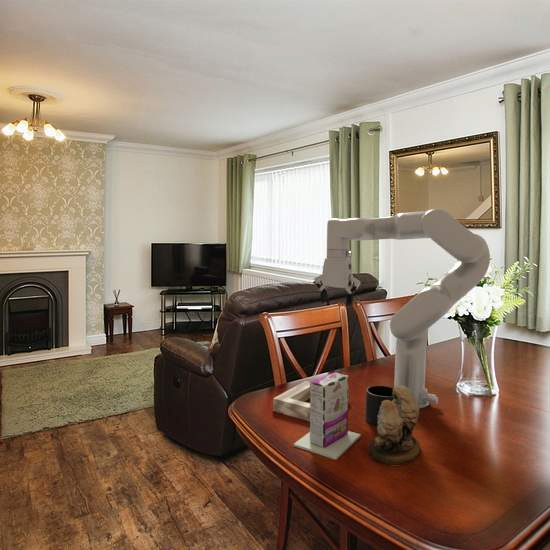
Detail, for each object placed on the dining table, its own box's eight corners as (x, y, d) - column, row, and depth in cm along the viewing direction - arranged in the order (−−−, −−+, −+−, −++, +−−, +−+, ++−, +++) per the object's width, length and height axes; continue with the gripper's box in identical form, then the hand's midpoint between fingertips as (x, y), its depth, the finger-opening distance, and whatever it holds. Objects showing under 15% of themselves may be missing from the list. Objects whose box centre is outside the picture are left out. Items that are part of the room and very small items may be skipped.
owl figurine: (384, 431, 123) (386, 371, 121) (427, 442, 116) (430, 379, 115) (359, 457, 107) (362, 390, 106) (407, 472, 101) (411, 401, 100)
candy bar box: (333, 428, 122) (334, 371, 120) (348, 434, 118) (349, 375, 117) (308, 442, 114) (309, 381, 112) (323, 449, 110) (325, 385, 109)
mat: (360, 436, 119) (360, 434, 119) (335, 459, 106) (335, 457, 106) (321, 425, 125) (321, 423, 125) (293, 446, 113) (293, 443, 113)
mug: (404, 415, 133) (405, 386, 132) (392, 430, 122) (393, 399, 122) (374, 408, 138) (375, 380, 137) (360, 422, 127) (361, 392, 127)
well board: (348, 402, 143) (348, 390, 142) (319, 423, 126) (319, 410, 126) (305, 391, 152) (305, 380, 151) (273, 410, 135) (273, 398, 135)
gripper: (365, 255, 150) (363, 304, 152) (320, 253, 160) (319, 299, 162) (356, 256, 144) (354, 307, 146) (310, 254, 154) (309, 302, 155)
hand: (336, 303), depth 154 cm, fingers open, 9 cm apart
